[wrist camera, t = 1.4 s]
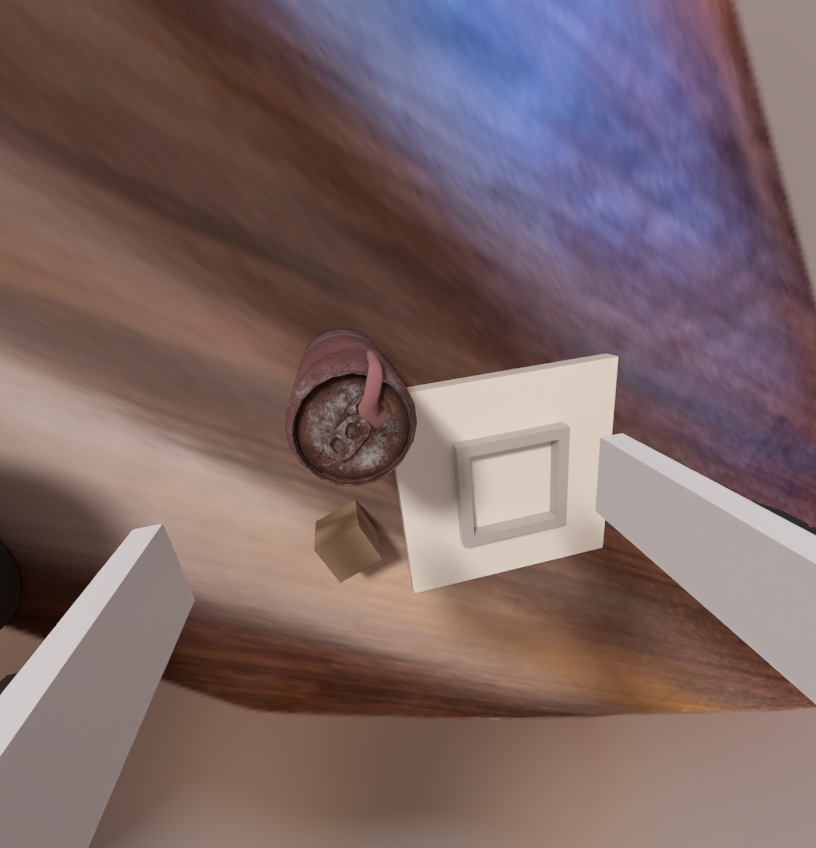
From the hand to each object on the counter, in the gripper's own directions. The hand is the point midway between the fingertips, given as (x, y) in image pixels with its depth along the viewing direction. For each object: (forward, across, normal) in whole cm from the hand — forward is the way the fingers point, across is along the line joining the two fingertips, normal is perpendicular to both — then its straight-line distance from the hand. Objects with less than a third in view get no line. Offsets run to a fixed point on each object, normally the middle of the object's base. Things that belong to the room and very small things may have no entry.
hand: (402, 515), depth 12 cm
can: (+20, -1, +1) cm, 20 cm away
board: (+20, +12, -12) cm, 26 cm away
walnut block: (+20, -3, -14) cm, 25 cm away
